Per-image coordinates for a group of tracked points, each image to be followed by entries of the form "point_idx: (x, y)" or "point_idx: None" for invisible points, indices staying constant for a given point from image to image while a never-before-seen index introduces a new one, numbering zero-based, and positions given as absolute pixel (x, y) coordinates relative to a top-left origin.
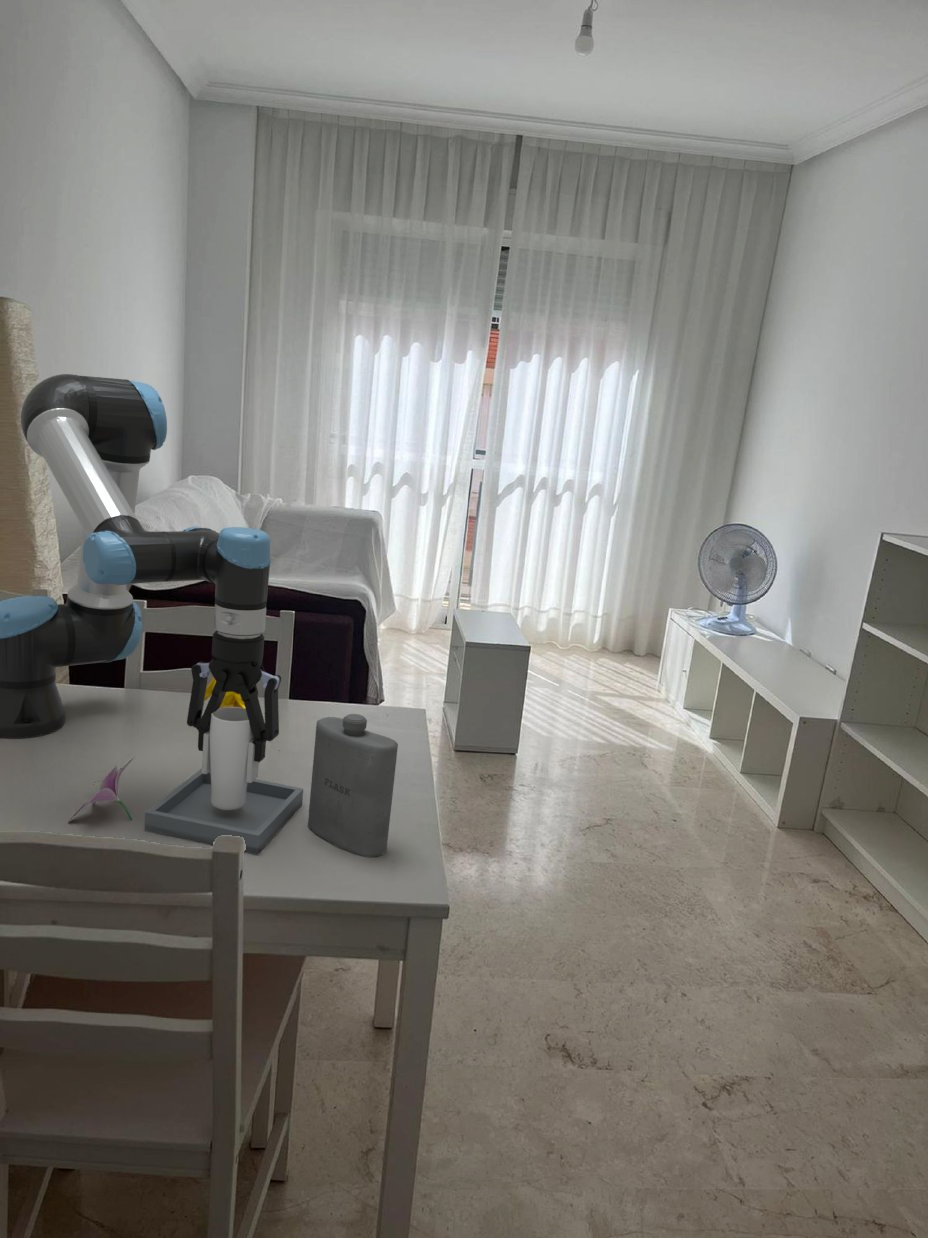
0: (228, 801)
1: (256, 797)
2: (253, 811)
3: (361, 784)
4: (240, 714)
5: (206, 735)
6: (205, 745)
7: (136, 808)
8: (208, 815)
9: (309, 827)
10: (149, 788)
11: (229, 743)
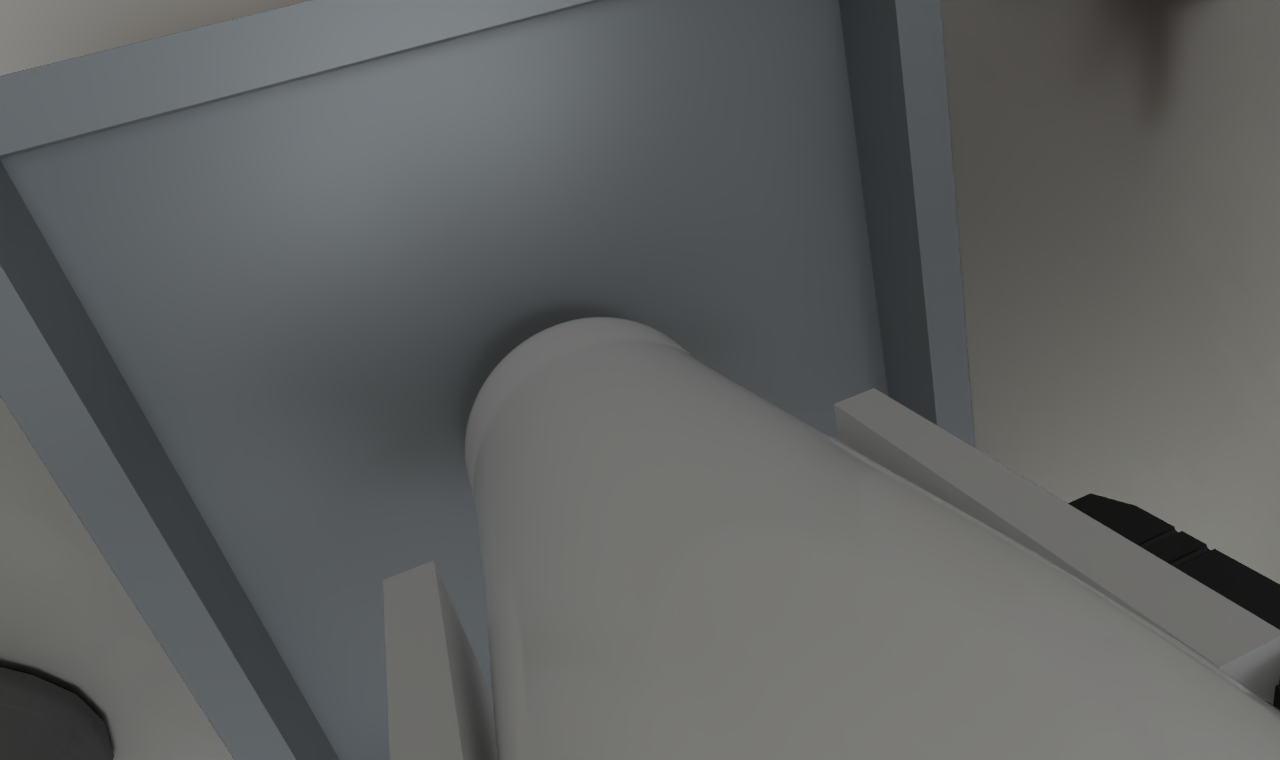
0: (517, 371)
1: None
2: (447, 527)
3: None
4: None
5: (1228, 641)
6: (1087, 544)
7: (1034, 112)
8: (629, 281)
9: (16, 672)
10: (1095, 341)
11: (742, 730)
